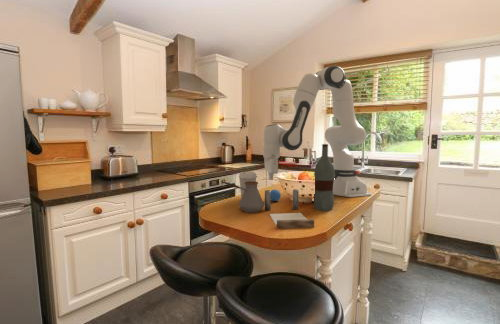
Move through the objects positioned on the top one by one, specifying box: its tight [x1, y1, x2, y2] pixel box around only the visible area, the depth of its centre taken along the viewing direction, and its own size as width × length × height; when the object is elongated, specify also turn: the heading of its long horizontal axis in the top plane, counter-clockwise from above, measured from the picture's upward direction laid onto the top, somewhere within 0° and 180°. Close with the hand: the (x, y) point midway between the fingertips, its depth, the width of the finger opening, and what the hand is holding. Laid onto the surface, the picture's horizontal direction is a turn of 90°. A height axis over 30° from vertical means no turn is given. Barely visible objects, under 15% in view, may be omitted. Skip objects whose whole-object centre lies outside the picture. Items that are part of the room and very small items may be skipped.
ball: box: [270, 189, 282, 202], centre depth 146 cm, size 6×6×6 cm
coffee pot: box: [221, 181, 265, 213], centre depth 126 cm, size 21×12×15 cm, turn 131°
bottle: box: [313, 143, 335, 212], centre depth 131 cm, size 9×9×30 cm
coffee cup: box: [238, 171, 258, 198], centre depth 144 cm, size 10×10×15 cm
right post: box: [292, 188, 299, 211], centre depth 131 cm, size 3×3×9 cm
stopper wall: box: [276, 218, 315, 230], centre depth 107 cm, size 14×2×2 cm, turn 96°
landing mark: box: [269, 212, 307, 226], centre depth 117 cm, size 14×14×1 cm
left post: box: [264, 189, 272, 212], centre depth 130 cm, size 3×3×9 cm
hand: (270, 179), depth 154 cm, fingers closed
